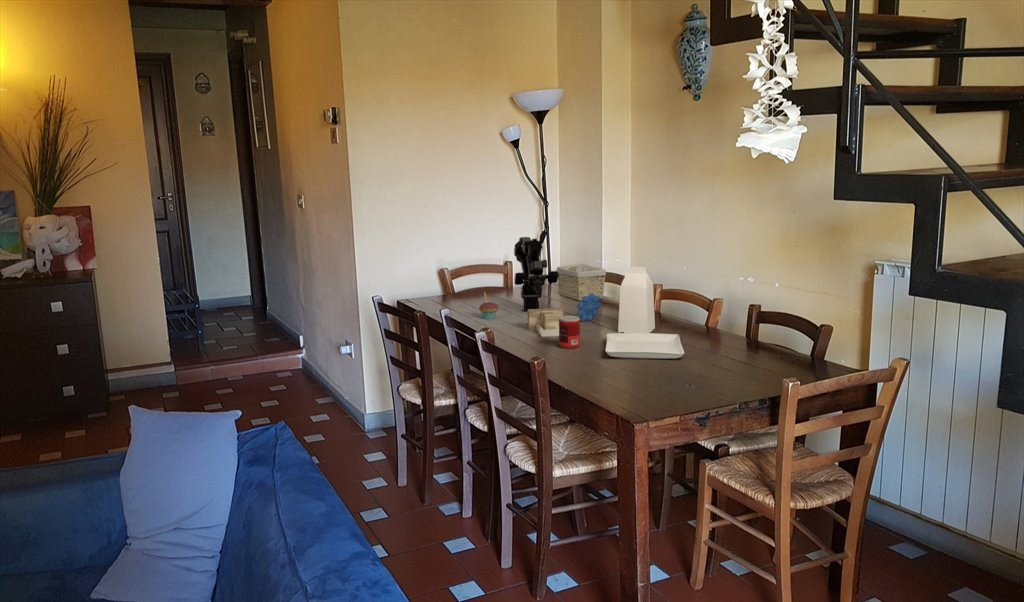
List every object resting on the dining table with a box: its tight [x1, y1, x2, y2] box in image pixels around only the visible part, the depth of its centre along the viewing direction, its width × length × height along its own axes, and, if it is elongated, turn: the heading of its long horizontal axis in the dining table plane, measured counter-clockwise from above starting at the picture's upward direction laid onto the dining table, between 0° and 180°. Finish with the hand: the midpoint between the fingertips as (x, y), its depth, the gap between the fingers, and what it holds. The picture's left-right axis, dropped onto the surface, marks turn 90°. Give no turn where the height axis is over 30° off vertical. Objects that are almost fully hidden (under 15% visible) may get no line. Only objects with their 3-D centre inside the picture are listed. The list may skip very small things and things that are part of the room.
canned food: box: [558, 315, 581, 350], centre depth 283 cm, size 8×8×11 cm
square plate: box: [605, 332, 685, 360], centre depth 276 cm, size 27×27×4 cm
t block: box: [527, 307, 564, 331], centre depth 308 cm, size 14×14×8 cm
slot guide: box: [535, 324, 559, 337], centre depth 306 cm, size 12×8×2 cm
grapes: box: [576, 293, 602, 322], centre depth 325 cm, size 12×7×12 cm, turn 113°
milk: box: [617, 265, 656, 333], centre depth 305 cm, size 12×12×26 cm
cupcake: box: [479, 291, 499, 320], centre depth 335 cm, size 9×8×12 cm
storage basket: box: [555, 263, 607, 302], centre depth 379 cm, size 24×16×15 cm
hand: (538, 293), depth 325 cm, fingers closed
